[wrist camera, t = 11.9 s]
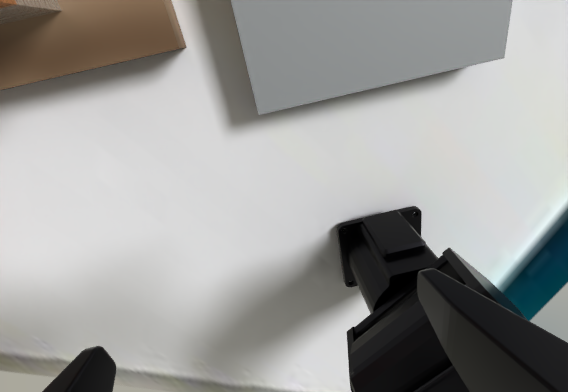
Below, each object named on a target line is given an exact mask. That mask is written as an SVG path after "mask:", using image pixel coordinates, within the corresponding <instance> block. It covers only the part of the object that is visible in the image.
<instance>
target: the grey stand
mask: <svg viewBox="0 0 568 392" xmlns="http://www.w3.org/2000/svg"><path fill="white" fill-rule="evenodd" d="M231 3H232V8H233V12H234V16H235V20H236V24H237V28H238V32H239V36H240V41H241V45H242V49H243V53H244V57H245V61H246V65H247V69H248V74H249V78H250V82H251V86H252V90H253V94H254V98H255V102H256V107H257V111H258V115H261V114H265V113H270V112H274V111H278V110H283V109H287V108H291V107H295V106H300V105H304V104H308V103H313V102H317V101H321V100H326V99H330V98H334V97H338V96H343V95H347V94H351V93H356V92H360V91H364V90H369V89H373V88H377V87H381V86H386V85H390V84H394V83H399V82H403V81H407V80H412V79H416V78H420V77H424V76H429V75H433V74H437V73H442V72H446V71H450V70H455V69H459V68H463V67H468V66H472V65H476V64H480V63H485V62H489V61H493V60H498V59H502V58H504V56H505V49H506V42H507V35H508V28H509V21H510V14H511V7H512V0H231Z"/></svg>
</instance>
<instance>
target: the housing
mask: <svg viewBox="0 0 568 392" xmlns="http://www.w3.org/2000/svg"><path fill="white" fill-rule="evenodd" d="M59 11H62V10H61V8H60V6H59V4H58V2H57V0H0V25H1V24H5V23H10V22H14V21H18V20H23V19H27V18H32V17H36V16H41V15H45V14H50V13H54V12H59Z"/></svg>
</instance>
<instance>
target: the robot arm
mask: <svg viewBox="0 0 568 392" xmlns="http://www.w3.org/2000/svg"><path fill="white" fill-rule="evenodd" d="M413 212H415V213H414V214H413V215H412V213H413ZM344 228H346V230H344V231H342V229H344ZM337 234H338V242H339V249H340V256H341V263H342V270H343V277H344V282H345V284H346V286H347V287H354V286H358V287H359V289H360V291H361V293H362V295H363V298H364V300H365V302H366V304H367V306H368V309H369V311H370V313H371V314H370V315H369V316H368V317H367V318H365V319H364V320H363V321H362V322H361V323H359V324H358V325H357V326H356V327H352V328H351V329H350V330H348V331H347V342H348V359H349V376H350V386H351V391H352V392H568V343H567V342H565V341H564V340H562V339H560V338H558V337H556V336H555V335H553V334H551V333H549V332H547V331H546V330H544V329H542V328H540V327H539V326H536V325H535V324H533V323H531V322H530V321H528V320H527V319H526V318H525V317H524V315H523V314H522V313H521V312H520V310H519V309H518V308H517V307H516V306H515V305H514V304H513V303H512V302H511V301H510V300H509V299H508V298H507V297H506V296H505V295H504V294H502V293H501V292H500V291H499V290H498V289H497V288H496V287H495V286H494V285H493V284H492V283H491V282H490V281H489V280H488V279H487V278H486V277H484V276H483V275H482V274H481V273H480V272H478V271H477V270H476V269H475V268H473V267H472V266H471V265H470V264H469V263H467V262H466V261H465V260H464V259H463V258H461V257H460V256H459V255H458V254H457V253H455V252H454V251H453V250H452V249H451V248H448V249H447V250H445V251H444V252H443V253H442V254H443V255H442V256H441V257H440V258H439V259H438V257H437V256H436V255H435V254H434V253H433V252H432V250H431V249H430V248H429V247H428V246H427V245H426V243H425V241H424V240H423V239H422V237H421V211H420V209H419V208H418V207H416V206H412V207H408V208H404V209H399V210H394V211H389V212H385V213H381V214H376V215H372V216H368V217H365V218H361V219H357V220H352V221H348V222H344V223H341V224H339V225H338V227H337ZM349 281H350V282H349ZM115 375H116V364H115V362H114V361H113V359H112V358H111V357H110V356H109V354H108V353H107V352H106V350H105V349H104V348H103V347H101V346H96V347H92V348H88V349H85V350H83V351H82V352H81V353H80V354H79V355H78V356H77V357H76V358H75V359H74V360H73V361H72V362H71V363H70V364H69V365H68V366H67V367H66V368H65V369H64V370H63V371H62V372H61V373H60V374H59V375H58V376H57V377H56V378H55V379H54V380H53V381H52V382H51V383H50V384H49V385H48V386H47V387H46V388H45V389H44V391H42V392H112V391H113V386H114V380H115Z"/></svg>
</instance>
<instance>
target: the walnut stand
mask: <svg viewBox="0 0 568 392" xmlns="http://www.w3.org/2000/svg"><path fill="white" fill-rule="evenodd" d="M57 2H58V4H59V6H60V8H61V10H62V11H59V12H54V13H50V14H45V15H41V16H36V17H32V18H27V19H23V20H18V21H14V22H10V23H5V24H1V25H0V90H4V89H8V88H13V87H17V86H21V85H25V84H30V83H34V82H38V81H43V80H47V79H51V78H56V77H60V76H64V75H69V74H73V73H77V72H82V71H86V70H90V69H95V68H99V67H103V66H108V65H112V64H116V63H121V62H125V61H129V60H133V59H138V58H142V57H146V56H151V55H155V54H159V53H164V52H168V51H172V50H177V49H181V48H185V47H186V44H185V41H184V38H183V35H182V32H181V29H180V26H179V23H178V20H177V17H176V13H175V10H174V7H173V4H172V1H171V0H57Z"/></svg>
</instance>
